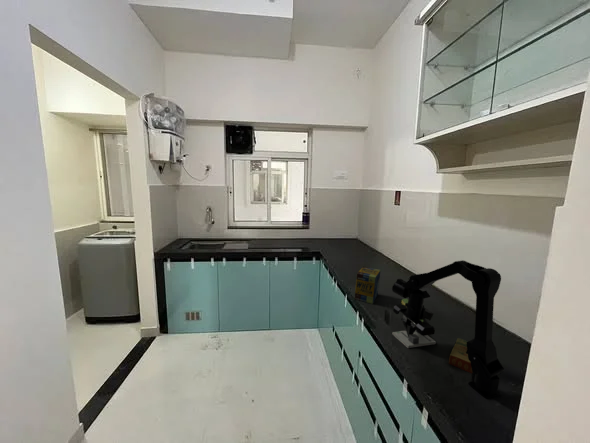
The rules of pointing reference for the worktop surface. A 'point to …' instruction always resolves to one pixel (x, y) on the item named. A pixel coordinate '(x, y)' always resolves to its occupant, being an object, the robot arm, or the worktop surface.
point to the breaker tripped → (413, 339)
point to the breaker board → (404, 338)
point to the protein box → (367, 284)
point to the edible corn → (405, 302)
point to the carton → (460, 356)
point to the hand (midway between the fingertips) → (409, 337)
